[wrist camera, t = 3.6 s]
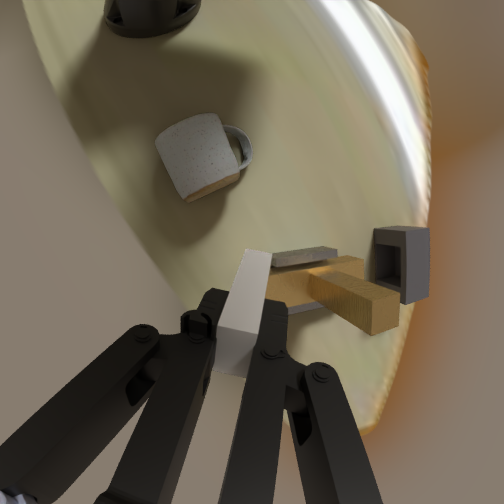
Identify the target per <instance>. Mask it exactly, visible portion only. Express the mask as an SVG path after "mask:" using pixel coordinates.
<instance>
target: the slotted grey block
mask: <svg viewBox="0 0 504 504" xmlns="http://www.w3.org/2000/svg"><path fill="white" fill-rule="evenodd" d="M429 233H430V232H429V228H425V227H410V226H391V227H383V228H375V229H374V239H375V265H376V284H377V285H379V286H382V287H385V288H388V289H391V290H393V291H396V292H399V293H400V303H402V304H404V305H407V304H410V303H413V302H416V301H418V300H421V299H424V298H426V297H428V296H429V277H430V234H429Z"/></svg>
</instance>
